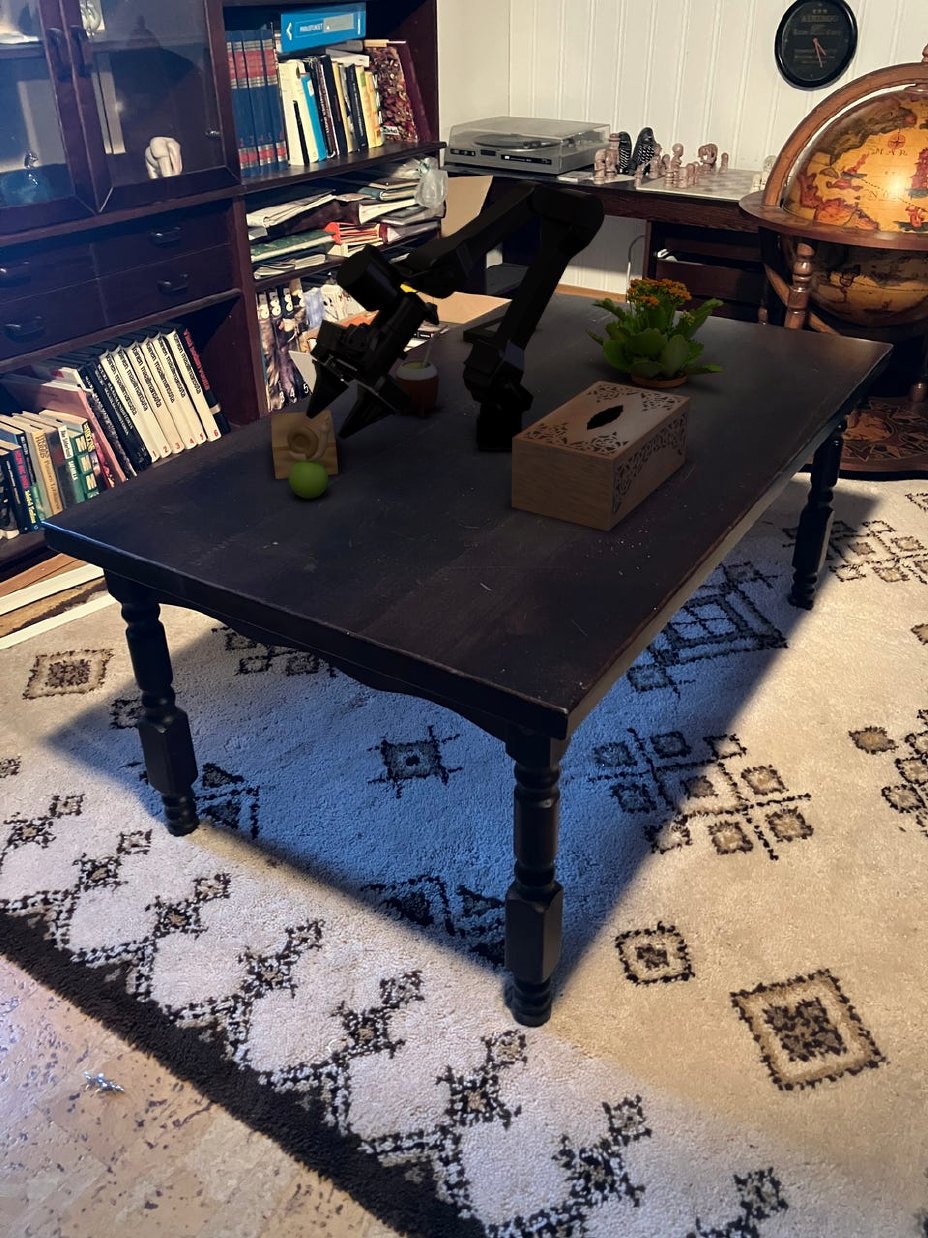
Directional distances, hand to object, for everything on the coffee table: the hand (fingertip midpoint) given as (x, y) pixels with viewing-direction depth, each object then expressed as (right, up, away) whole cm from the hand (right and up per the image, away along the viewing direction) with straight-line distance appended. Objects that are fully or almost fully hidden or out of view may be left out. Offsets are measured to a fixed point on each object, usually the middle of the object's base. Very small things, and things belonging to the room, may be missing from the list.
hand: (324, 427), depth 142 cm
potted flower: (+53, +16, +43) cm, 70 cm away
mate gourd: (+12, +8, +31) cm, 35 cm away
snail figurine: (-2, -9, +4) cm, 10 cm away
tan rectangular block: (-5, -2, +15) cm, 16 cm away
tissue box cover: (+38, -7, +6) cm, 40 cm away
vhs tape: (+26, +30, +67) cm, 78 cm away
